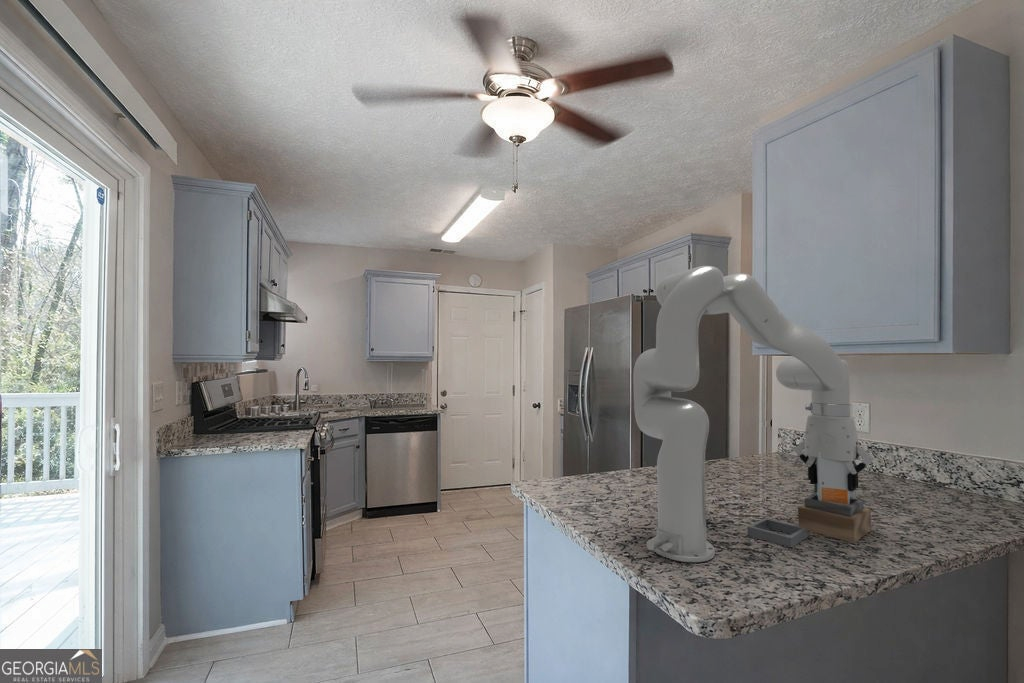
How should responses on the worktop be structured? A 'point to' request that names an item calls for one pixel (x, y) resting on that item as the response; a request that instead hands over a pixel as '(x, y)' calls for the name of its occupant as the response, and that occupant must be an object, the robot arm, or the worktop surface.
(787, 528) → the lower holder
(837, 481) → the skincare box
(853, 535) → the upper dock
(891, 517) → the worktop surface
